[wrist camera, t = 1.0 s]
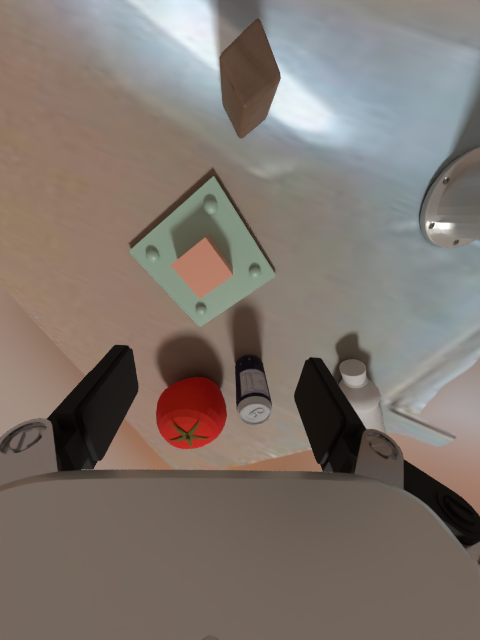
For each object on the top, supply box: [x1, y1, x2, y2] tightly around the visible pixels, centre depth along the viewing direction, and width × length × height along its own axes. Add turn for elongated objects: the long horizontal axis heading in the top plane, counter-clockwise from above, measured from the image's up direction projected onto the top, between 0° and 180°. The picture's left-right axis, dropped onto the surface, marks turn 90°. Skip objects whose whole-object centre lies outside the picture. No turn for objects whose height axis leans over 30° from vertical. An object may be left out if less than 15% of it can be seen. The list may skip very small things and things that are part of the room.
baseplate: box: [128, 176, 276, 327], centre depth 31 cm, size 16×16×2 cm
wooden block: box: [220, 19, 281, 138], centre depth 20 cm, size 4×4×8 cm
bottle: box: [339, 359, 386, 434], centre depth 44 cm, size 9×9×30 cm
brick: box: [171, 235, 233, 299], centre depth 29 cm, size 6×6×4 cm
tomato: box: [156, 377, 227, 449], centre depth 39 cm, size 13×14×12 cm
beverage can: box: [235, 356, 272, 425], centre depth 36 cm, size 6×6×12 cm
